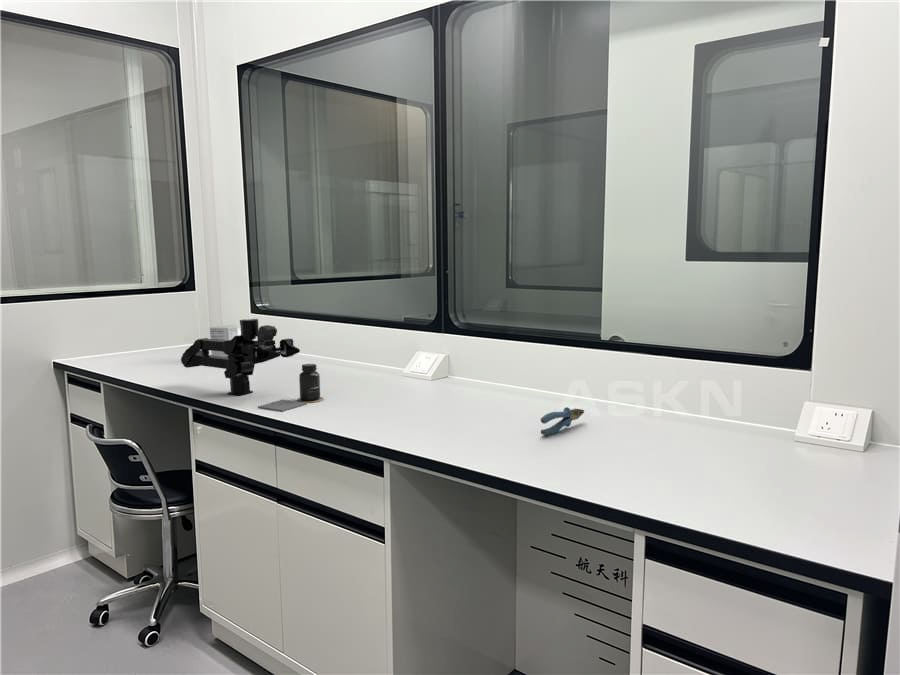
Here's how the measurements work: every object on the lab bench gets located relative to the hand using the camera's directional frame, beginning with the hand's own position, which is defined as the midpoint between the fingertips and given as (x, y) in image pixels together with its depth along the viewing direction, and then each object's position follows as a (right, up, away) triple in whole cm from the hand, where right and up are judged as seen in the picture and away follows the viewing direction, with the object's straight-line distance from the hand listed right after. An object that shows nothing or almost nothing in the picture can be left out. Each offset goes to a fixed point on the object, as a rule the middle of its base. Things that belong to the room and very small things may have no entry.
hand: (289, 352), depth 225 cm
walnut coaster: (+6, -16, +3) cm, 18 cm away
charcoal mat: (-1, -17, -5) cm, 18 cm away
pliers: (+85, -21, -38) cm, 96 cm away
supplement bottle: (+6, -16, +3) cm, 18 cm away
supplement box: (-49, -6, +82) cm, 95 cm away
